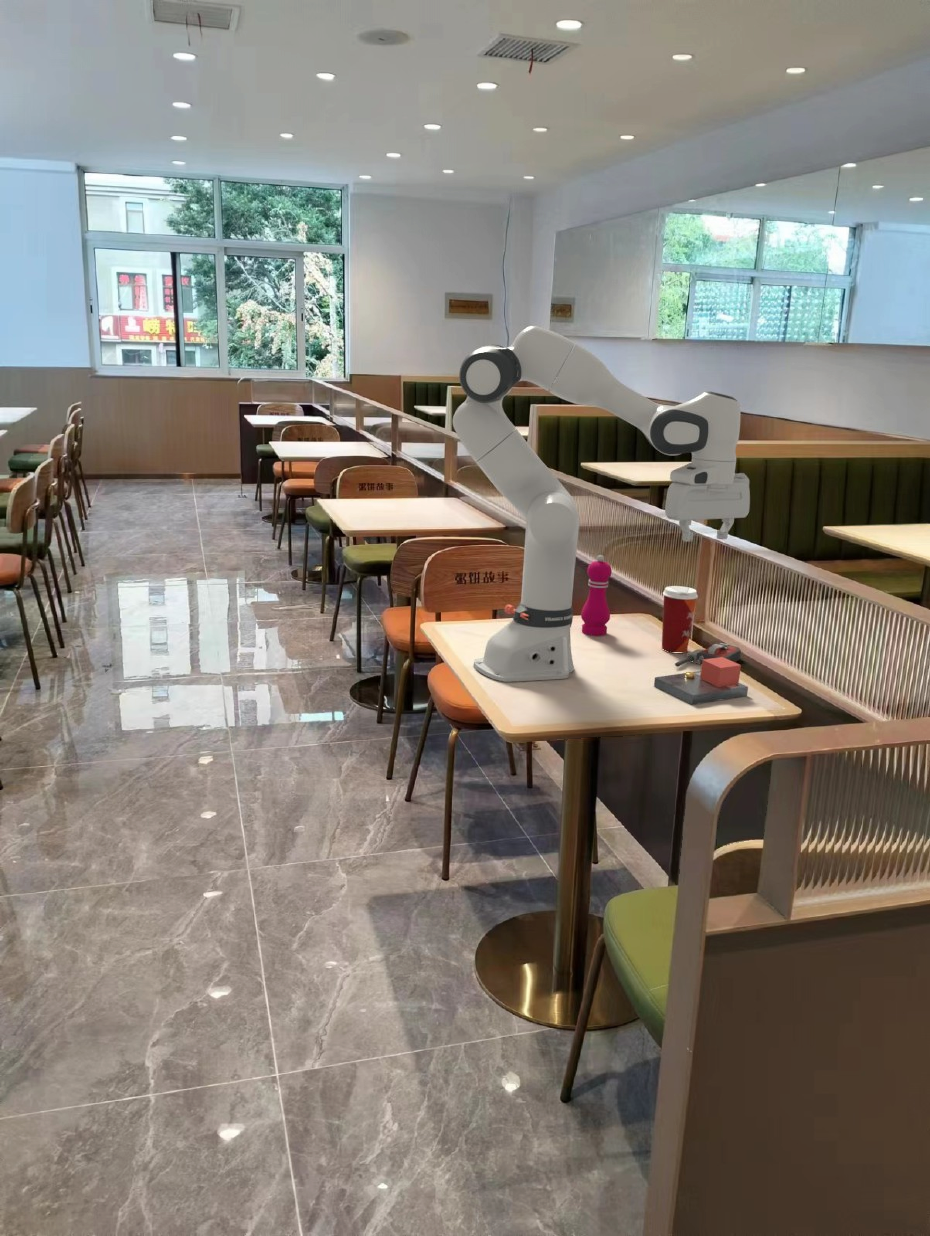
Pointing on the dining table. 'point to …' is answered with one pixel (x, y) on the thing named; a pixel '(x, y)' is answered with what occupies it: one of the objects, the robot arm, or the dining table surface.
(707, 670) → the cap
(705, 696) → the panel
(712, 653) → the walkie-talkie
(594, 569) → the pepper mill
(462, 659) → the dining table surface
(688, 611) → the coffee cup
